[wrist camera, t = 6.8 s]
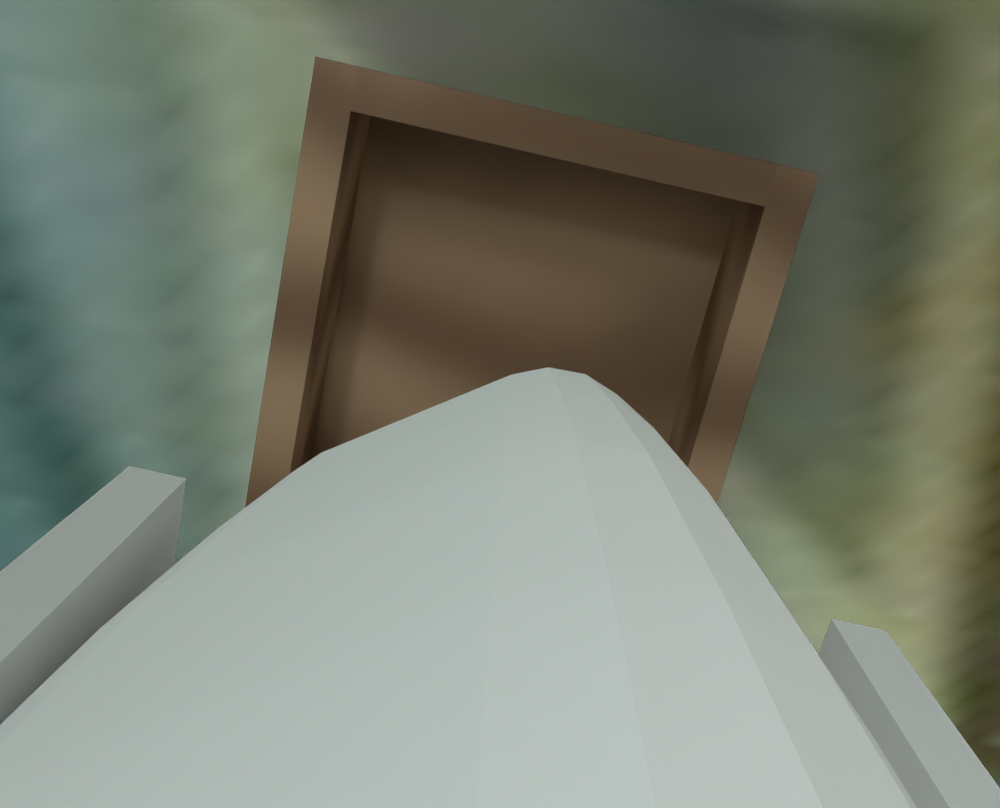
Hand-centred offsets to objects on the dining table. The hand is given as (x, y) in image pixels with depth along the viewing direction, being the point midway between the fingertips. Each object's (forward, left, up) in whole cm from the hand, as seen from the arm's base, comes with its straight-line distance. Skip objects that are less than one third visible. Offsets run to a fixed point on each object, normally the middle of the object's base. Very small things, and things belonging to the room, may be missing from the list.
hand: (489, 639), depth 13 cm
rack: (+6, 0, -21) cm, 22 cm away
